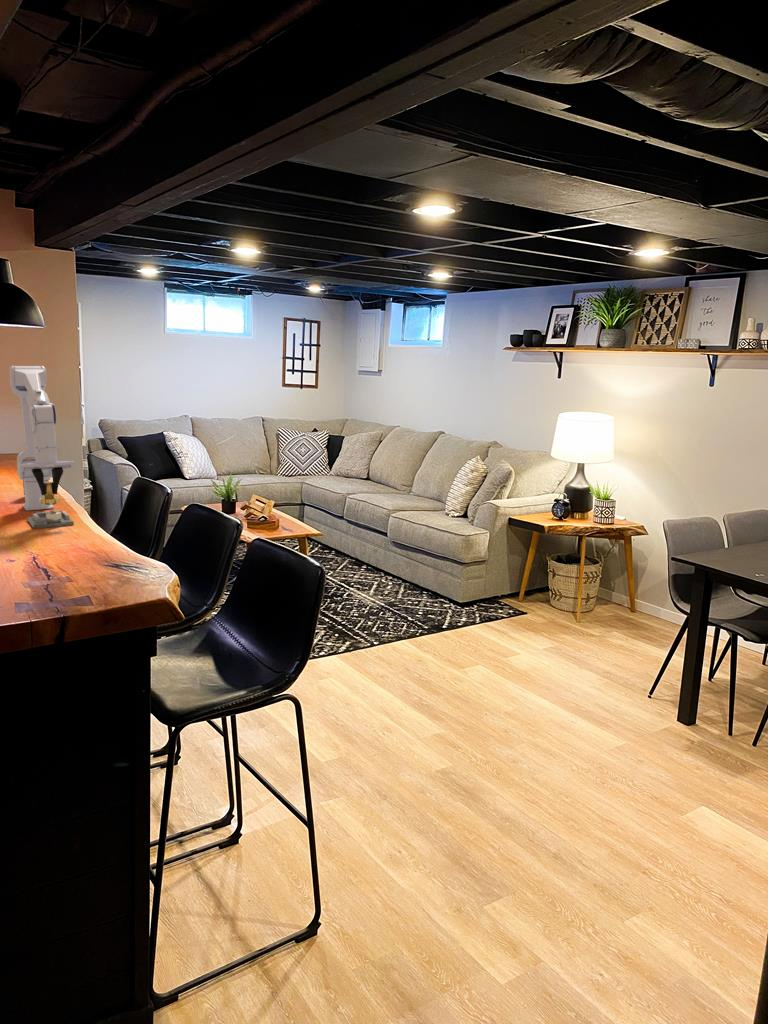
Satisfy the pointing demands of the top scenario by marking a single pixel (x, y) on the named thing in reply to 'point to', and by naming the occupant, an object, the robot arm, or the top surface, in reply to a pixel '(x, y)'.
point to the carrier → (50, 519)
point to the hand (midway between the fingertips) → (49, 494)
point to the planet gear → (49, 495)
